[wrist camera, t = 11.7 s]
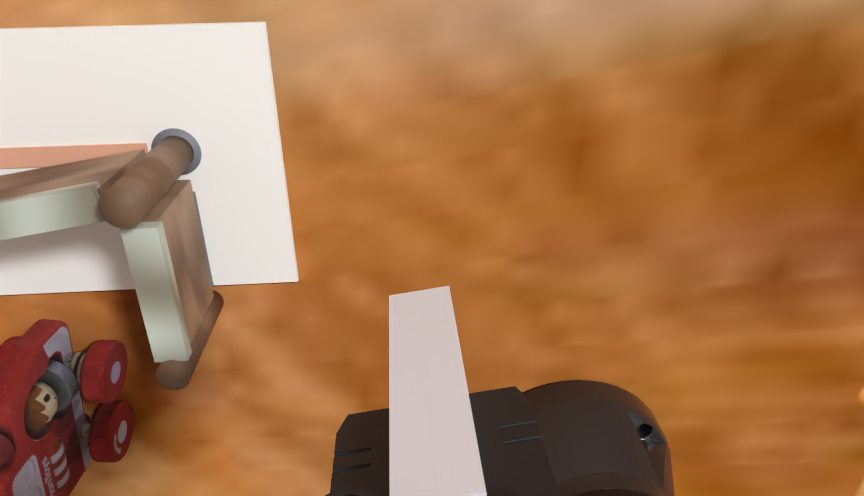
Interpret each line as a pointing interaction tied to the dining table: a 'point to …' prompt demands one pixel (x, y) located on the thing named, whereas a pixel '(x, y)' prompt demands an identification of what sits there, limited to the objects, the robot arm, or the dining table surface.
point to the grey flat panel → (59, 194)
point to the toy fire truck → (58, 410)
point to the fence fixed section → (165, 257)
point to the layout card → (148, 142)
